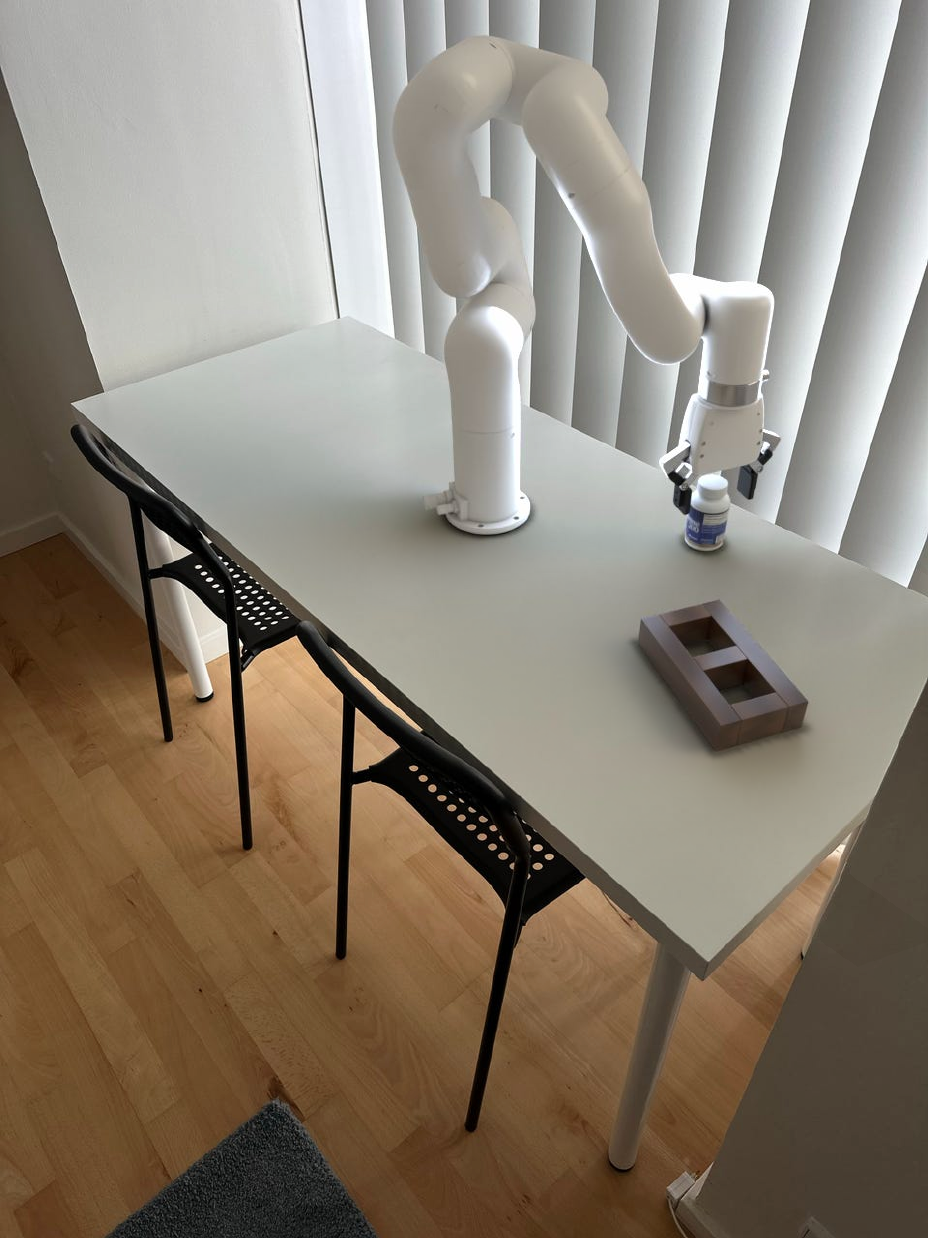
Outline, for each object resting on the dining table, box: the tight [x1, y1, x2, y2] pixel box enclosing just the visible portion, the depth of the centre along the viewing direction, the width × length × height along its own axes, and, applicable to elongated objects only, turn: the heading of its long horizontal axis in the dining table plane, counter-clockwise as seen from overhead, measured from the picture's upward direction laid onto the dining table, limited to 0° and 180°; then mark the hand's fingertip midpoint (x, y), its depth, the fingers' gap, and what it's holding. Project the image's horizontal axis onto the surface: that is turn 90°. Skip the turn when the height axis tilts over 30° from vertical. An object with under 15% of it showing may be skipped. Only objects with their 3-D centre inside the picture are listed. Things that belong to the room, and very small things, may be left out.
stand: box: [637, 599, 809, 752], centre depth 110 cm, size 11×19×4 cm, turn 18°
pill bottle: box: [684, 474, 731, 552], centre depth 131 cm, size 5×5×10 cm
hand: (713, 502), depth 129 cm, fingers open, 9 cm apart
